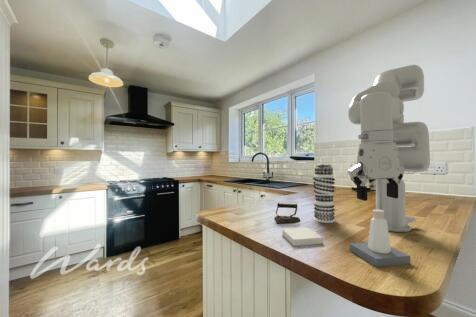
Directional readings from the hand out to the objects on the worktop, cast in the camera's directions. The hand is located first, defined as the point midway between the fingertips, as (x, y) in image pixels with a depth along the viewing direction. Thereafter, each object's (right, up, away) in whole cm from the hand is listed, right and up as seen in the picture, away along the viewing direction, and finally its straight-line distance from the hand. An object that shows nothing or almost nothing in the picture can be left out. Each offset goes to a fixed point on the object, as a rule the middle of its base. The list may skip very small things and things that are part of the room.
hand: (377, 198), depth 60 cm
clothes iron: (-17, -17, +34) cm, 41 cm away
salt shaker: (0, -14, -1) cm, 14 cm away
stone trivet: (-18, -16, +13) cm, 27 cm away
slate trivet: (0, -16, -1) cm, 16 cm away
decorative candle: (-1, -16, +35) cm, 38 cm away
